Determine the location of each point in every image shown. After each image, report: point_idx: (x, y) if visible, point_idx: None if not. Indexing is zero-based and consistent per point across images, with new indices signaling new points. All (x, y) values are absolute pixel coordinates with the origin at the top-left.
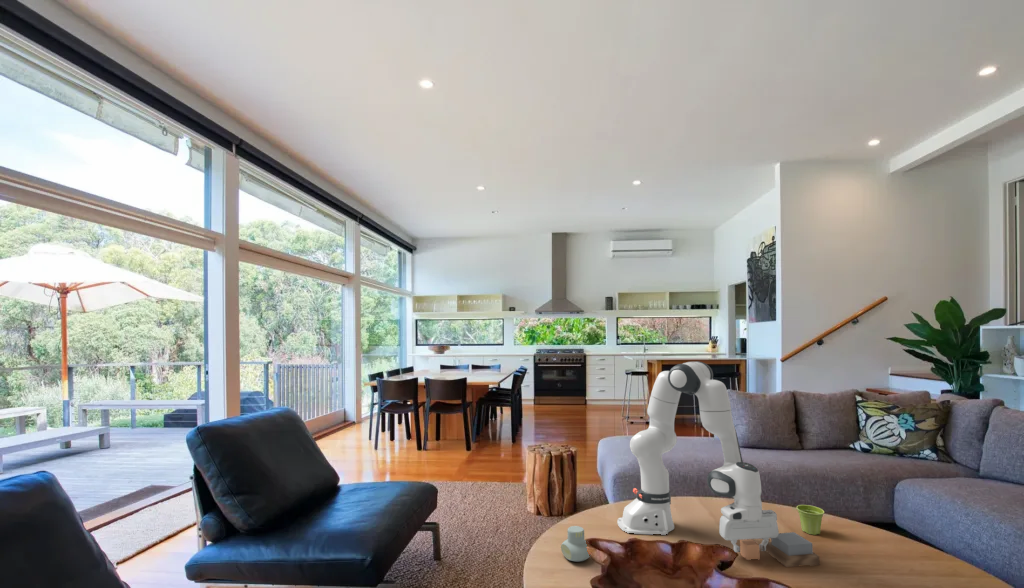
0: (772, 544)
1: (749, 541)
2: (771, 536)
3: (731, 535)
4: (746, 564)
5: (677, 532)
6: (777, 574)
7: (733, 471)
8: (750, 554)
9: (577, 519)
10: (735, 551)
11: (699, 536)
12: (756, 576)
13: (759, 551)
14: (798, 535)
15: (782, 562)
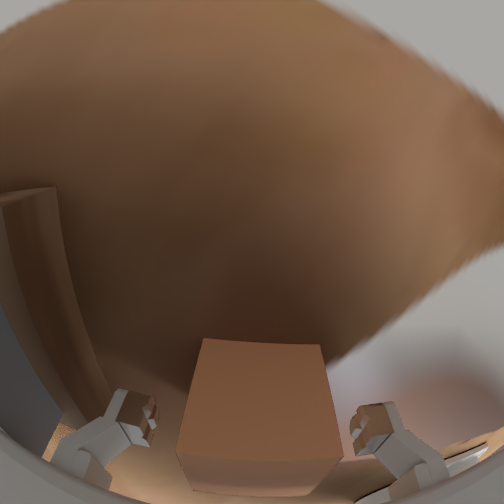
0: (58, 408)
1: (245, 486)
2: (17, 461)
3: (493, 493)
4: (388, 279)
5: (388, 481)
6: (216, 39)
7: None
8: (293, 378)
9: (487, 456)
10: (389, 407)
11: (348, 481)
12: (442, 71)
13: (189, 391)
14: None
15: (53, 236)
